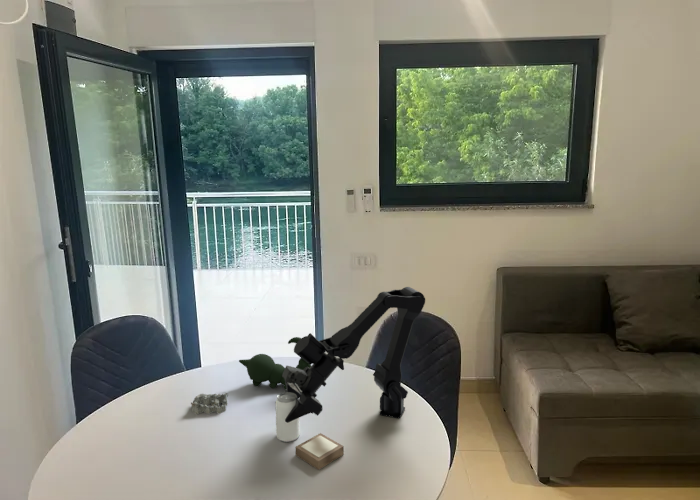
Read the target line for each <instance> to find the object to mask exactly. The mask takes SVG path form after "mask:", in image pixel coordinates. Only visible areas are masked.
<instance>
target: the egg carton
mask: <svg viewBox="0 0 700 500" xmlns="http://www.w3.org/2000/svg"><path fill="white" fill-rule="evenodd" d="M210 404H211V406H208V405H210ZM221 404H222V405H221ZM190 405H191V413H192V414H195V415H200V414H202V413H205V414H207V415H208V414H212V413H217V414H222V413H223V412H224V413H225V412H226V411H227V408H226V407H227V406H228V405H229V404H228V392H225V393H221V394H220V393H218V394H217V393H210V394H206V393H200V394H198V395H196V396H195V397H194V399H193V400H192V402H190Z"/></svg>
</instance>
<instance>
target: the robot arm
mask: <svg viewBox="0 0 700 500" xmlns="http://www.w3.org/2000/svg"><path fill="white" fill-rule="evenodd" d="M425 305H426V297H425V295H424V294H423V293H422V292H420V290H419V291H418V290H416V289H414V288H412V287H410V286H405V287H403V288H402V289H393V290H392V289H391V290H389V291H380V292H379V293H378V294H377V296H376V298H375V299H374V300H373V301H372V302H371V303H370V304H369V305H368V306H367V307H366V308H365V309H364V310H363V311H362V312H361V314H359V315H358V316H356V318H355V319H354V321H352V322H351V323H350V324H349V325H348V326H345V327H343V328H341V329H339V330H338V331H336V332H335V333H334V334H333V335H332V336H331V337H328V338H323V339H321V340H319V339H317V338H316V337H315V336H314V335H313V334H312V333H308V335H305V336H303V337H300V338H301V339H299V340H298V342H297V343H295V345H294V347H293V353H294V354H295V355H297V356H298V357H300V358H302V359H303V360H305V361H306V362H307V363H308V364H311V367H310V368H309V367H308V366H307V367H305V368H304V369H303V370H301V369H298V368H296V366H295V367H294V366H291V365H285V367H284V368H285V370H284V372H283V375H282V377H284V379H285V384H286V389H285V392H284V393H286V392H291V393H294V394H296V395H297V398H296V404H295V406H294V407H293V409H292V410H291V412H290V413H289V414H288V416H287V417H286V419H285V422H287V423H289V422H291V421H293V420H295V419H297V418H299V419H300V418H301V417H304V416H306V415H309V414H314V415H315V416H319V415H321V413H322V412H323V405H322V404H321V402H320V401H319V399H317V398H316V397H317V396H318V394H317V391H318V390H319V389H320V388H321V386H323V387H326V386H327V382H326V381H327V380H328V378H329V377H330V376H331V375H332V374H333V372H334V371H335V370H336V369H337V368H338V369H340V370H341V371H344V370H345V365H344V362H345V361H344V359H349V358H350V357H352V356H353V354H354V353H355V352H356V350H357V349H358V348H359V346H360V342H361V339H362V338H363V337H364V336H365V334H366V333H367V332H368V331H369V330H370V329H371V328H373V326H374V325H375V324H376V323H377V322H378V321H379V320H380V319H381V318H382V317H383V316H384V315H385V314H386V312H387V311H388V310H389V309H395V308H396V310H397V318H396V321H395V325H394V328H393V330H392V336H391V339H390V343H389V344H388V345H389V346H388V349H387V351H386V356H385V359H384V360H383V361H382V363H378V362H377V363H376V365H375V370H374V372H373V373H372V376H373V380H374V383H375V384H376V386H378V387H379V389H380V390H381V391H382V393H381V396H380V398H379V410H380V412H379V415H380V416H384V417H389V418H395V419H401V418H402V416H403V414H404V411H405V410H406V406H404V405H405V404H404V403H405V401H404V399H406V398H407V397H408V393H409V391H408V390H407V389H406V388H405V387H403V385H402V384H401V383H402V378H403V376H402V369H401V368H402V367H401V366H402V361H403V358H404V354H405V352H406V347H407V345H408V341H409V337H410V334H411V330H412V328H413V323H414V322H415V320H416V318H418V316H419V315H420V314H421V313H422V311H423V309H424V306H425Z"/></svg>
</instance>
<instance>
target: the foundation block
mask: <svg viewBox="0 0 700 500" xmlns="http://www.w3.org/2000/svg"><path fill="white" fill-rule="evenodd" d="M294 448H295V456H296V457H297V458H299V459H301V460H302V461H304V462H305V463H307V464H309V465H310V466H312V467H313V468H314V469H317V470H319V471H320V470H321V469H323V468H324V467H326V466H327V465H330V464H331V463H333V462H334V461H335V460H337V459H339V458H340V457H342V456H343V455H345V454H344V452H345V451H344V445H342V444H341V443H340V442H337V441H335V440H334V439H332V438H330V437H328V436H327V435H325V434H323V433H321V432H320V433H318V434H316V435H314V436H313V437H310V438H308V439H307V440H305V441H304V442H301V443H300V444H298V445H296V446H295V447H294Z"/></svg>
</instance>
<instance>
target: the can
mask: <svg viewBox="0 0 700 500" xmlns="http://www.w3.org/2000/svg"><path fill="white" fill-rule="evenodd" d="M285 392H286V391H285ZM285 392H282V393H280V394H278V395H277V396H276V401H275V427H276V428H275V429H276V430H275V431H276V438H277V439H278V440H279V441H280V442H283V443H288V442H289V443H290V442H294V441H296V440H297V439H298V438H299V436H300V417H299V418H297V419H295V420H293V421H291V422H289V423H287V422H285V419H286V417H287V416H288V414H289V413H290V412H291V410H292V409H293V407H294V406H295V404H296V398H297V395H296V394H294V393H291V392H286V393H285Z"/></svg>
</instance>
